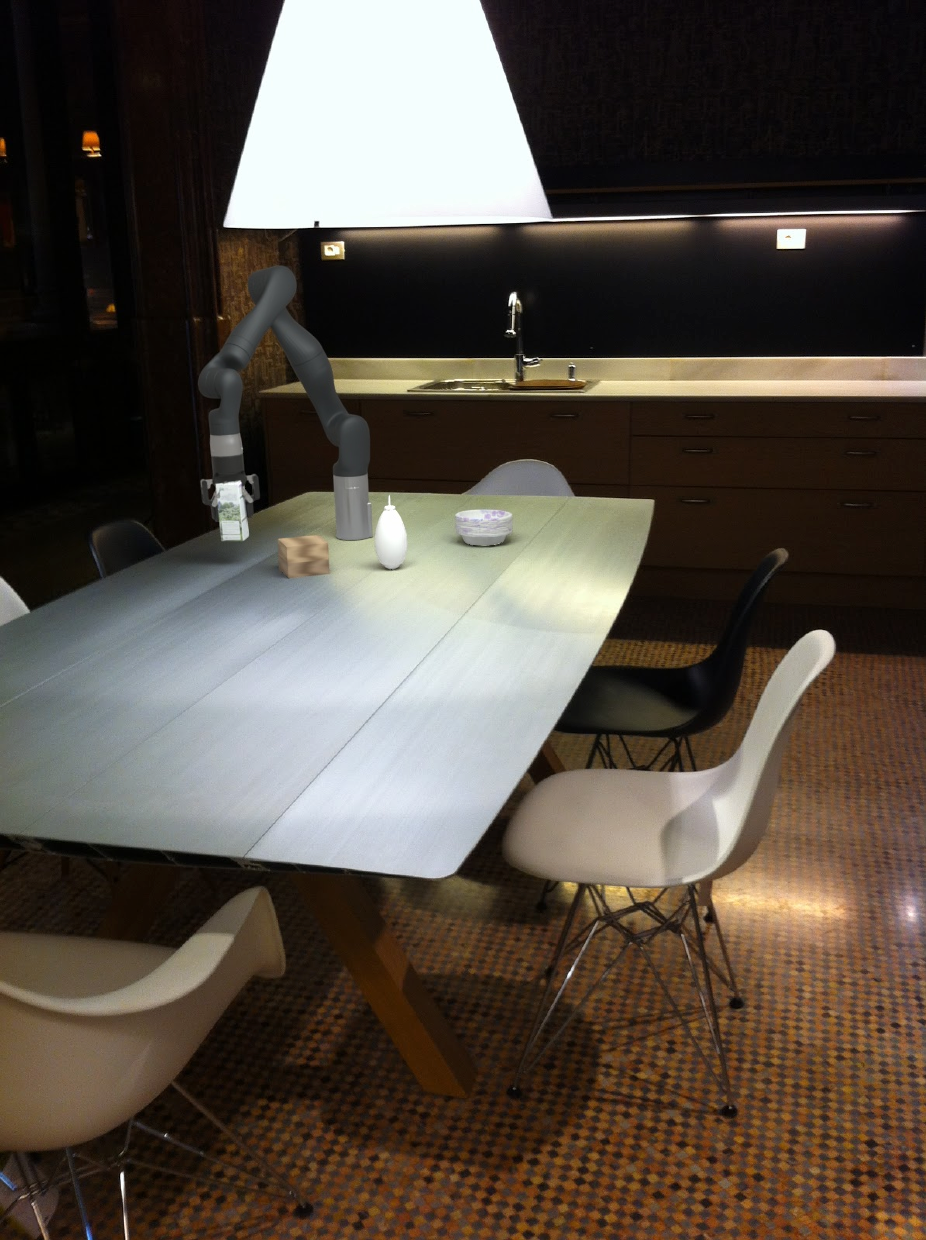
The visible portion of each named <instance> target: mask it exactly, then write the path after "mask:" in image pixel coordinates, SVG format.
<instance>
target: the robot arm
mask: <svg viewBox="0 0 926 1240" xmlns="http://www.w3.org/2000/svg"><path fill="white" fill-rule="evenodd" d="M297 288H298V287H297V279H296V276H295V274H294V272H293V271H292V270H291V269H290V268H289V267H287V266H285V265H274V266H270V267H269V266H268V267H265V268H263V269H259V270H255V271H253V272H252V273H250V275H249V276H248V278H247V291H248V294H249V296H250V298H251V301H252V302H253V304H254V306H253V308H252V309H251V310H250V311H249V312H248V313H247V314H246V315H245V316H244V317H243V318H242V319H241V321H239V322H238V323H237V325H236V326H235V327H234V328H233V329H232V331H230V334H229V335H228V337H227V339H226V340H225V343H224V344H223V346H222V347H221V349H220V351H219V352H218V353H216V354H215V355H214V357H213V358H212V359H211V360H210V361H209V362H208V363H207V364H206V365H205V366H204V367H203V369H202V370H201V371H200V374H199V376H198V381H197V387H198V390H199V392H200V394H201V395H202V396H204V397H206V398H208V399H220V405H219V407H218V408H214V409H212V410H210V412H208V424H209V425H208V426H209V427H208V428H209V434H210V435H209V436H210V437H209V445H210V447H209V448H210V455H211V456H210V457H211V466H212V467H211V468H212V478H211V479H204V478H202V479H200V481H199V483H200V491H201V500H202V503H203V504H204V505H205V506H210V510H211V519H213V520H214V521H215V523H218V522H219V513H218V502H217V498H220V490H219V492H218V494H216V490H215V491H214V492H213V495H212V498H211V499H210V498H209V497H210V496H209V489H211V485H213V486H214V487H215V488H216V484H220V483H223V484H226V483H228V482H233V481H234V482H238V481H241V483H242V485H241V491H242V495H243V496H244V497H245V499H246V511H247V519H251V518H252V516H254V502H255V501H257V500H260V499H261V493H260V483H259V481H260V480H259V476H258V475H257V474H256V473H252V474H251V475H246V472H245V464H244V463H245V462H244V454H243V453H244V451H243V450H244V448H243V443H242V437H241V433H240V432H241V431H240V422H239V420H240V419H239V415H240V414H239V413H240V409H241V408H240V407H241V401H242V395H243V387H244V384H243V380H242V377H241V375H240V374H239V372H241V371H243V370H245V369H246V368H247V367H248V365H249V364H250V362H251V359H252V357H253V356H254V353H255V352H256V350H257V348H258V347H259V344H260V343H261V341H262V340H263V338H264V337H265V336H266V334H267V332H268V331H269V329H271V331H272V333H273V335H274V337H276V338H275V339H276V340H277V342H278V343H279V345H280V347H281V348H282V350H283V352H284V354H285V356H286V358H287V359H288V361H289V362H288V363H290V366H291V367H292V369H293V371H294V373H295V375H296V377H297V378H298V380H299V381H300V382H299V383H301V384H300V385H302V387H303V389H304V391H305V394H307V397H308V398H309V400H310V402H311V403H312V405H313V407H314V409H315V412H316V413H317V416H318V418H319V420H320V422H321V425H322V428H323V430H324V433H325V435H326V438H327V439H328V440H329V441H330V444H332V445H333V446H335V447H338V459H337V461H336V462H335V463H334V464H333V466H332V474H333V493H334V494H333V496H334V512H335V514H334V516H335V533H336V538H337V539H338V540H344V541H359V540H365V539H368V538H373V537H374V535H373V517H372V516H373V512H372V510H373V509H372V502H371V501H370V500H369V499H370V498H369V496H370V495H369V478H368V477H369V476H368V475H369V474H368V472H369V471H368V469H369V464H370V461H371V436H370V428H369V424H368V422H367V421H366V420H365V418H363V417H362V416H360V415H357V414H351V413H349V412H348V411H347V409H346V407H345V406H344V405H343V403H342V401H341V399H340V398H339V395H338V393H337V390H336V386H335V377H334V371H333V367H332V364H331V361H330V360H329V358H328V356H327V354H326V352H325V350H324V349H323V345H321V343H320V342H319V340H318V339H317V338H316V337H315V336H313V334H312V333H310V332H309V331H308V330H307V329H306V328H304V327H303V326H302V325H301V324H299V323H298V322H297V321H296V320H295V319H294V318H293V316H291V314H290V312H289V311H288V309H287V306H288V305H289V303H290V302H291V301H292V300H293V298H294V296H295V294H296V292H297ZM247 481H248V483H249V484H251V487H252V494H251V495H250V493H248V491H247V489H244V488H243V486H244V487H245V485H246V483H247Z"/></svg>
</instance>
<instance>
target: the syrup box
mask: <svg viewBox="0 0 926 1240" xmlns="http://www.w3.org/2000/svg"><path fill="white" fill-rule="evenodd" d="M241 485H242V483H241V481H238V482H234V481H233V482H228V483H226V484H223V483H220V484H216V487H215V491H216V494H218V492H219V490H220V498H217V502H218V504H217V507H218V513H219V531H220V532H219V533H220V538H221V539H220V541H221V542H244V541H245V540H247V538H249V536H250V533H249V524H248V517H247V511H246V502H247V500H246V499H245V497H244V496H243V495H242V491H241ZM243 488H244V489H245V488H246V487H245V485H244V486H243ZM245 490H246V489H245Z"/></svg>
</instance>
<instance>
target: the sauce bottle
mask: <svg viewBox="0 0 926 1240" xmlns="http://www.w3.org/2000/svg"><path fill="white" fill-rule="evenodd" d="M391 504H392V503H391V496H390V495H388V505H385V506H384V508H383V512H381V514H380V516H379V518H378V521H377V524H376V527H375V533H374V534H375V535H374V549H375V550H374V551H375V554H376V557H377V559H378V561H379V562H380V564H381V565H382V566H384V567H385V568H386V569H388V570H391V569H392V570H396V569H397V568H399V567H400V565H402V564H403V562H405V559H406V556H407V552H408V535H407V530H406V527H405V525H404V522H403V519H402V517H401V515H400V514H399V512H398V511H397V510H396V506H395V505H393V504H392V505H391Z"/></svg>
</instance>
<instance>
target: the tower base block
mask: <svg viewBox="0 0 926 1240" xmlns="http://www.w3.org/2000/svg"><path fill="white" fill-rule="evenodd" d="M277 559H278V560H277V561H278V570H279V571H280V572H281V573H282V572H283V573H282V574H283V575H284V576H285V577H286V576H287V577H286V578H288V579H297V578H298V577H299V578H305V577H306V576H307V577H315V576H323V575H330V574H331V573H330V572H331V571H330V558H329V559H327V560H318V561H308V562H299V563H289V564H288V563H287V562H286V561H285V560H283V559H282V558H281V557H280V556H279V554H278V555H277Z"/></svg>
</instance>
